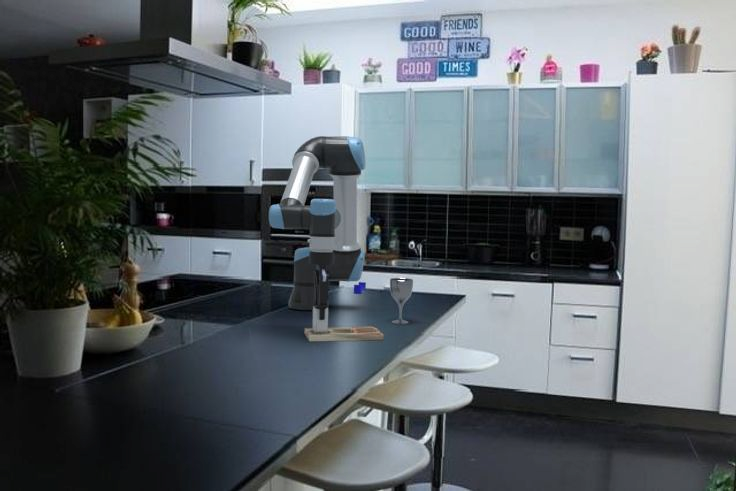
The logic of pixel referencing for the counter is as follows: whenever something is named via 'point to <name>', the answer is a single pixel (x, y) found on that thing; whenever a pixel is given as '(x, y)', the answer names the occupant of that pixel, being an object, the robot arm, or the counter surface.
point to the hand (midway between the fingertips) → (320, 328)
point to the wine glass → (401, 294)
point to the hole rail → (345, 334)
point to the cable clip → (359, 288)
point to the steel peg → (316, 321)
